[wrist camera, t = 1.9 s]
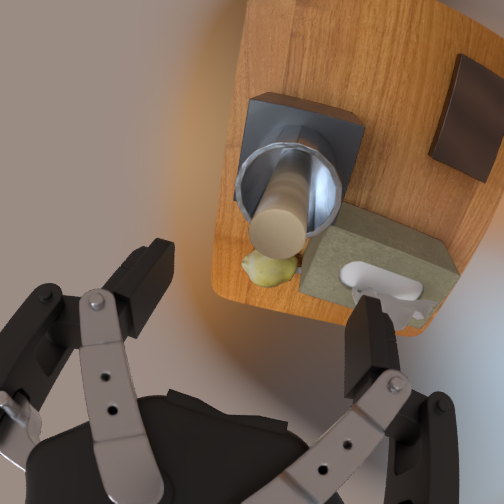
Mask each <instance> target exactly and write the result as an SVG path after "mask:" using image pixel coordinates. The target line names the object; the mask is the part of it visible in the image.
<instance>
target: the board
mask: <svg viewBox="0 0 504 504" xmlns="http://www.w3.org/2000/svg"><path fill="white" fill-rule="evenodd" d="M503 135H504V79H502V78H501V77H499V76H498V75H496V74H495V73H493V72H492V71H490V70H489V69H487V68H485V67H484V66H482V65H481V64H479V63H477V62H476V61H474V60H472V59H471V58H469V57H467V56H465V55H464V54H457V58H456V62H455V67H454V71H453V75H452V79H451V83H450V86H449V90H448V94H447V97H446V101H445V104H444V107H443V111H442V114H441V117H440V120H439V124H438V127H437V130H436V133H435V136H434V139H433V142H432V144H431V147H430V150H429V153H428V155H429V156H430V157H431V158H433V159H436V160H438V161H440V162H442V163H444V164H447V165H449V166H451V167H453V168H455V169H457V170H459V171H461V172H463V173H465V174H467V175H469V176H471V177H473V178H475V179H477V180H479V181H481V182H483V183H486V181H487V178H488V176H489V174H490V171H491V169H492V166H493V163H494V161H495V158H496V155H497V153H498V150H499V147H500V144H501V141H502V138H503Z"/></svg>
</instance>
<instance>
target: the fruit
mask: <svg viewBox="0 0 504 504" xmlns="http://www.w3.org/2000/svg"><path fill="white" fill-rule="evenodd" d="M241 265H242V267H243V269H244V270H245V271H246V272H247V273H248V275H249V277H250V279H251V280H252V282H254V283H255V284H257V285H258V286H261V287H265V288H271V287H276V286H278V285H280V284H281V283H284V282H287V281H290V280H291V278H292V277H293V276H294V274H295V273H301V267H299V266H297V265H298V259H297V258H296V257H295V256H292V257H290V258H286V259H273V258H269V257H267V256H264V255H263V254H261V253H260V252H258V251H257V250H256V249H255V250H254V251H253V252H251V253H250V254H248V255H246V256H245V257H244V260H243V262H242V264H241Z"/></svg>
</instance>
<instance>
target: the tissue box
mask: <svg viewBox="0 0 504 504" xmlns="http://www.w3.org/2000/svg"><path fill="white" fill-rule="evenodd" d="M459 278H460V274H459V272H458V270H457V268H456V266H455V264H454V262H453V260H452V258H451V257H450V255H449V253H448V251H447V249H446V247H445V246H444V244H443V242H441V241H439V240H437V239H435V238H432V237H430V236H428V235H426V234H423V233H421V232H419V231H416V230H414V229H412V228H409V227H407V226H404V225H402V224H400V223H397V222H395V221H392V220H390V219H387V218H385V217H382V216H380V215H377V214H375V213H372V212H370V211H367V210H365V209H362V208H359V207H357V206H354V205H351V204H349V203H346V202H342V205H341V208H340V211H339V214H338V217H337V220H336V223H335V226H331V225H329V226H328V227H327V228H325V229H324V230H323V231H322V232H320V233H319V234H318V235H316V236H313V237H311V238H310V240H309V243H308V245H307V247H306V250H305V252H304V254H303V261H302V267H301V275H300V284H299V292H301V293H304V294H307V295H310V296H313V297H316V298H320V299H323V300H326V301H329V302H332V303H336V304H339V305H342V306H345V307H349V308H352V309H354V308H355V307H356V305H357V303H358V301H359V299H360V298H361V296H362V295H367V296H371V297H374V298H378V299H380V300H381V306H382V312H384V313H388V315H389V317H390V318H391V320H392V322H393V324H394V330H396V331H398V330H403V329H404V328H405V327H406V326H407V325H409V326H412V327H416V328H419V329H421V328H422V327H423V325H424V324H425V323H426V322H427V321H428V319H429V318H430V317H431V316H432V314H433V313H434V312H435V311H436V309H437V308H438V307H439V305H440V304H441V303H442V301H443V300H444V299H445V297H446V296H447V295H448V293H449V292H450V291H451V289H452V288H453V287H454V285H455V284H456V282H457V281H458V280H459Z"/></svg>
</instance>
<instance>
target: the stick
mask: <svg viewBox="0 0 504 504" xmlns="http://www.w3.org/2000/svg"><path fill="white" fill-rule="evenodd" d="M311 180H312V162H311V159H310V158H309V156H308V155H307V154H305V153H304V152H302V151H299V150H290V151H287V152H285V153H284V154H283V155H282V156H281V157H280V159H279V161H278V163H277V165H276V167H275V170H274V172H273V174H272V176H271V178H270V181H269V183H268V185H267V187H266V190H265V192H264V194H263V196H262V198H261V201H260V203H259V205H258V207H257V210H256V212H255V214H254V216H253V219H252V221H251V223H250V226H249V238H250V241H251V243H252V245H253V246H254V247H255V249H256V250H257V251H258V252H260V253H261V254H263V255H264V256H267V257H269V258H273V259H286V258H290V257H292V256H294V255H296V254H297V253H298V252H299V251H300V250H301V249H302V248H303V246H304V244H305V241H306V234H307V224H308V214H309V203H310V192H311Z"/></svg>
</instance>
